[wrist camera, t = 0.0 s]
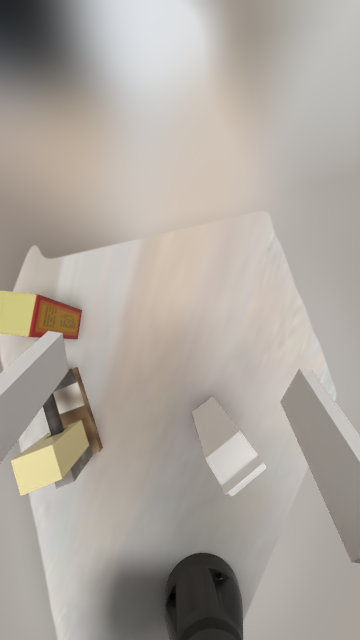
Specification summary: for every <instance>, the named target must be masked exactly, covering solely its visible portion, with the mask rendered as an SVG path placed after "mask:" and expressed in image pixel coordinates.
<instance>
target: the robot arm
mask: <svg viewBox="0 0 360 640" xmlns="http://www.w3.org/2000/svg"><path fill="white" fill-rule="evenodd" d="M67 372H68V365H67V358H66V352H65V345H64V339H63V333H59V332H52V331H48V332H47V333H45V334H44V335H43V336H42V337H41V338H40V339H39V340H38V341H36V342H35V343H34V344H33V345H32V346H31V347H30V348H29V349H27V350H26V351H25V352H24V353H23V354H22V355H21V356H19V357H18V358H17V359H16V360H15V361H14V362H13V363H12V364H10V365H9V366H8V367H7V368H6V369H5V370H4V371H3V372H1V373H0V463H1V462H2V460H3V459H4V458H5V456H6V455H7V454H8V452H9V451H10V450H11V448H12V447H13V446H14V444H15V443H16V441H17V440H18V439H19V437H20V436H21V435H22V433H23V432H24V431H25V429H26V428H27V427H28V425H29V424H30V422H31V421H32V420H33V418H34V417H35V416H36V414H37V413H38V412H39V410H40V409H41V408H42V406H43V405H44V403H45V402H46V401H47V399H48V398H49V397H50V395H51V394H52V393H53V391H54V390H55V389H56V387H57V386H58V384H59V383H60V382H61V380H62V379H63V378H64V376H65V375H66V374H67ZM281 404H282V407H283V409H284V411H285V413H286V416H287V418H288V420H289V422H290V425H291V427H292V429H293V431H294V434H295V436H296V438H297V440H298V443H299V445H300V447H301V449H302V452H303V454H304V456H305V458H306V461H307V463H308V465H309V467H310V470H311V472H312V474H313V476H314V479H315V481H316V483H317V485H318V488H319V490H320V492H321V494H322V496H323V499H324V501H325V503H326V505H327V508H328V510H329V512H330V515H331V517H332V519H333V521H334V524H335V526H336V528H337V530H338V533H339V535H340V537H341V539H342V542H343V543H344V546H345V548H346V550H347V553H348V555H349V557H350V559H351V561H352V562H355V563H360V436H359V434H357V432H356V430H355V429H354V427H353V426H352V425H351V423H350V422H349V421H348V419H347V418H346V416H345V415H344V414H343V412H342V411H341V409H340V408H339V407H338V405H337V404H336V402H335V401H334V400H333V398H332V397H331V395H330V394H329V393H328V391H327V390H326V388H325V387H324V386H323V384H322V383H321V382H320V380H319V379H318V377H317V376H316V375H315V373H314V372H313V371H311V370H305V369H299V370H298V372H297V374H296V375H295V377H294V379H293V381H292V382H291V384H290V386H289V388H288V389H287V391H286V393H285V395H284V396H283V398H282V400H281ZM165 619H166V624H167V629H168V633H169V637H170V640H243V610H242V598H241V594H240V590H239V586H238V583H237V579H236V577H235V575H234V573H233V571H232V569H231V568H230V567H229V566H228V564H227V563H226V562H224V561H223V560H222V559H220V558H218V557H216V556H214V555H210V554H196V555H193V556H190V557H188V558H186V559H184V560H183V561H182V562H180V563H179V564H178V565H177V566H176V568H175V569H174V570H173V572H172V573H171V575H170V577H169V579H168V582H167V585H166V590H165Z"/></svg>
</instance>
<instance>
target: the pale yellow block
mask: <svg viewBox="0 0 360 640" xmlns="http://www.w3.org/2000/svg"><path fill="white" fill-rule="evenodd" d="M63 428H64V431H63V432H62V433H59V434H57V435H54V436H51V432H49V433H48V434H47V435H45V436H44V437H43V438H41V439H40V440H39V441H37V442H36V443H34V444H33V445H32V446H30V447H29V448H28V449H26V450H25V451H24V452H22V453H21V454H20V455H18V456H17V457H15V458H14V459H13V460H12V461H11V463H12V466H13V470H14V473H15V477H16V481H17V485H18V488H19V492H20V495H24V494H26V493H29V492H32V491H34V490H36V489H39V488H41V487H44V486H46V485H49V484H51V483H54V482H56V481H59V480H61V479H63V477H64V476H65V475H66V474H67V472H68V471H69V470H70V469H71V467H72V466H73V465H74V464H75V462H76V461H77V460H78V459H79V457H80V456H81V455H82V454H83V452H84V451H85V450H86V449H87V447H88V446H89V443H88V440H87V436H86V433H85V430H84V427H83V423H82V420H79V421H77V422H74V423H72V424H69V425H66V426H64V427H63Z"/></svg>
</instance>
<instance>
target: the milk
mask: <svg viewBox="0 0 360 640" xmlns="http://www.w3.org/2000/svg"><path fill="white" fill-rule="evenodd" d="M192 416H193V419H194V423H195V426H196V429H197V433H198V436H199V439H200V443H201V446H202V449H203V453H204V456H205V459H206V461H207V463H208V465H209V466H210V468H211V470H212V471H213V473H214V475H215V477H216V478H217V480H218V482H219V483H220V485H221V487H222V490H223V493H224V494H225V495H227V494H229V495H230V496H231V497H233V496H234V495H235V494H236V493H238V492H239V491H240V490H241V489H242V488H244V487H245V486H246V485H247V484H248V483H249V482H251V481H252V480H253V479H254V478H255V477H257V476H258V475H259V474H260V473H261V472H262V471H264V470H265V469H266V468H267V467H266V466H265V464H264V463H263V461H262V459H261V458H260V457H259V456H258V454H257V453H256V451H255V450H254V449H253V447H252V446H251V445H250V443H249V442H248V441H247V439H246V438H245V436H244V435H243V434H242V432H241V431H240V430H239V429H238V427H237V426H236V425H235V423H234V422H233V421H232V420H231V418H230V417H229V416H228V415H227V413H226V412H225V411H224V410H223V408H222V407H221V406H220V405H219V403H218V402H217V401H216V400H215V398H214V397H213V396H212V397H210V398H209V399H208V400H207V401H205V402H204V403H203V404H201V405H200V406H199V407H198V408H196V409H195V410H194V411H192Z"/></svg>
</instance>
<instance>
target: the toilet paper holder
mask: <svg viewBox="0 0 360 640" xmlns="http://www.w3.org/2000/svg"><path fill="white" fill-rule="evenodd" d="M43 408H44V412H45V415H46V419H47V422H48V425H49V429H50V432H51V436H54V435H57V434H59V433H62V432H63V431H64V428H63V427H64V426H66V425H69V424H72V423H74V422H77V421H79V420H82V423H83V427H84V430H85V433H86V436H87V440H88V443H89V446H88V447H87V449H86V450H85V451H84V452H83V454H82V455H81V456H80V457H79V459H78V460H77V461H76V462H75V464H74V465H73V466H72V467H71V469H70V470H69V471H68V472H67V474H66V475H65V476H64V477H63V479H61V480H59V481H56V482H55V485H56V489H57V488H59V487H61V486H64V485H66V484H69V483H71V482H74V481H75V479H76V478H77V477H78V475H79V474H80V472H81V471H82V469H83V468H84V467H85V465H86V464H87V462H88V461H89V459H90V458H91V457H92V455H93V454H95V453H97V452H100V451H101V449H102V448H103V447H102V444H101V441H100V438H99V435H98V432H97V428H96V425H95V422H94V419H93V416H92V412H91V409H90V406H89V403H88V400H87V396H86V393H85V390H84V387H83V384H82V381H81V377H80V374H79V371H78V368H74V369H70V370H68V372H67V374H66V375H65V376H64V378H63V379H62V380H61V382H60V383H59V384H58V386H57V387H56V389H55V390H54V391H53V393H52V394H51V395H50V397H49V398H48V399H47V401H46V402H45V403H44V405H43Z"/></svg>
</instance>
